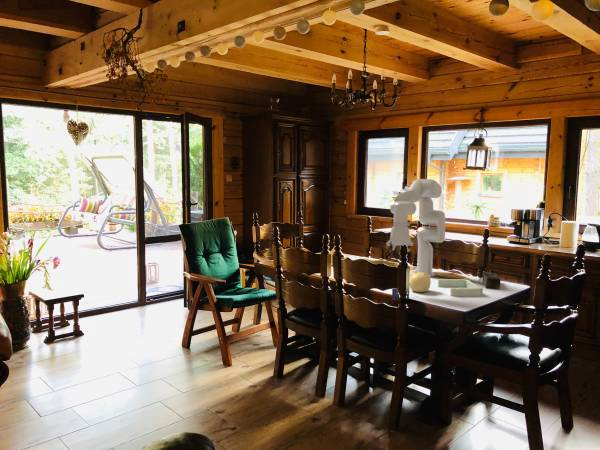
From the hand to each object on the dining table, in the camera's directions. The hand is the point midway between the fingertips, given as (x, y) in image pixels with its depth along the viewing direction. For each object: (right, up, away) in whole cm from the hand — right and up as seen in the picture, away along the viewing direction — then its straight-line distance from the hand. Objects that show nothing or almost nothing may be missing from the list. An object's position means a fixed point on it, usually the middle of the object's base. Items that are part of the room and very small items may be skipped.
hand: (399, 256), depth 270 cm
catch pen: (+34, -19, +4) cm, 39 cm away
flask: (-2, -22, -15) cm, 26 cm away
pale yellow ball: (+12, -20, +3) cm, 23 cm away
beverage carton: (+58, -18, +18) cm, 63 cm away
